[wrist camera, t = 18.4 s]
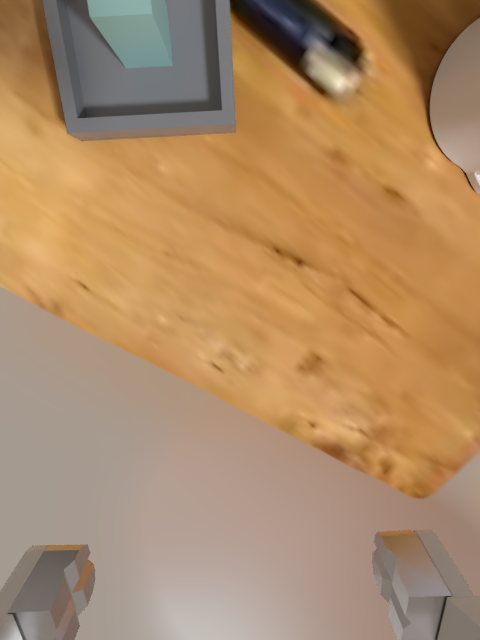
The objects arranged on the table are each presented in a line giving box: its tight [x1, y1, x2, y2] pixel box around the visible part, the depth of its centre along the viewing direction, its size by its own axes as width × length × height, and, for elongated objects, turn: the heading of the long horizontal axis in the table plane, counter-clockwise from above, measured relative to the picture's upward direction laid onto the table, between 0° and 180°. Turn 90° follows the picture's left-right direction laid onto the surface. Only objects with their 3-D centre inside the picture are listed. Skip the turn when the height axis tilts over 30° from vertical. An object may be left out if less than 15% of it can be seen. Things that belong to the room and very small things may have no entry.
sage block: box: [87, 0, 173, 68], centre depth 26 cm, size 4×4×8 cm
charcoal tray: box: [42, 0, 236, 141], centre depth 29 cm, size 16×16×3 cm
